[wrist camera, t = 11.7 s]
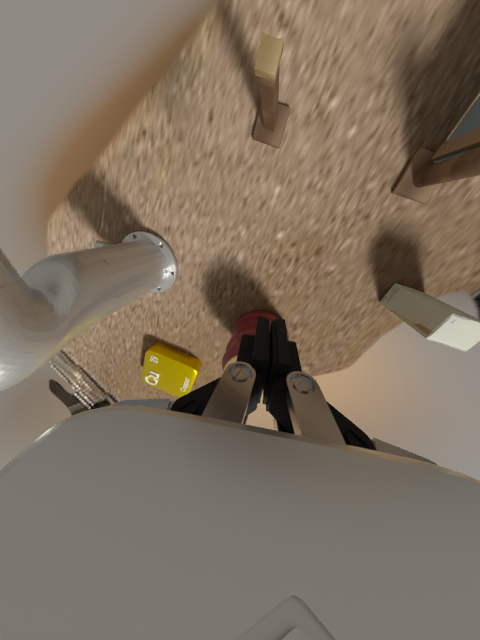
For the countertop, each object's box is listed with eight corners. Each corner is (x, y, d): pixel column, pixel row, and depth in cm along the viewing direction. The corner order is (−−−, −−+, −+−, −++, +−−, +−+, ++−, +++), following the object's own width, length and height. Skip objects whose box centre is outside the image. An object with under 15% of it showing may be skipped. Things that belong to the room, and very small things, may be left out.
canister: (298, 321, 40) (313, 385, 25) (273, 360, 47) (273, 429, 32) (244, 300, 39) (225, 352, 24) (227, 343, 46) (204, 404, 31)
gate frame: (452, 161, 24) (628, 105, 12) (422, 203, 27) (543, 192, 15) (263, 94, 24) (253, -28, 12) (251, 143, 27) (234, 83, 15)
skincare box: (378, 302, 35) (422, 338, 24) (394, 282, 33) (450, 312, 22) (409, 312, 35) (466, 353, 24) (427, 293, 33) (499, 329, 22)
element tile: (191, 389, 59) (185, 402, 55) (148, 371, 58) (139, 383, 54) (203, 359, 51) (197, 372, 47) (154, 338, 50) (144, 349, 46)
